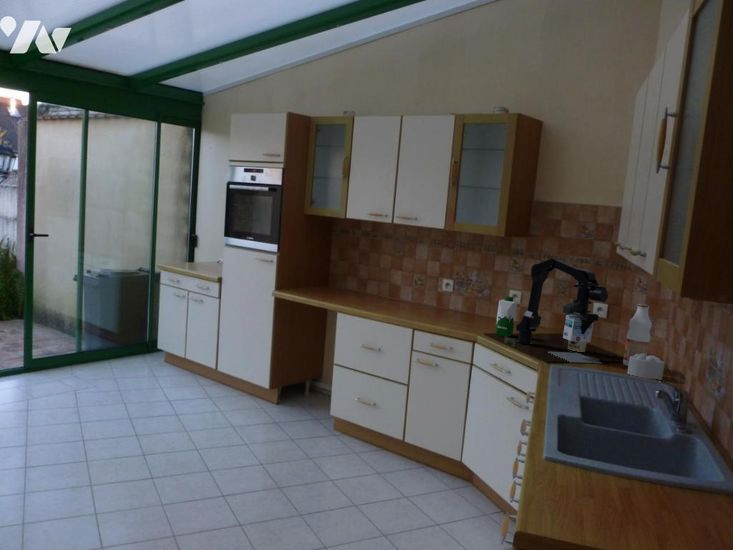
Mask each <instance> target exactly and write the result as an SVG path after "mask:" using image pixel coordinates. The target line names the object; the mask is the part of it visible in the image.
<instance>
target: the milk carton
mask: <svg viewBox="0 0 733 550" xmlns="http://www.w3.org/2000/svg"><path fill="white" fill-rule="evenodd" d="M504 298H505V299H500V300H498V307H497V313H496V320H495V321H496V322H495V335H496V336H501V337H505V336H508V337H507V338H510V337H512V336H511V335H513V333H514V332H513V331H514V327H515V320H516V314H517V303H518V301H514V297H513V296H509V295H508V296H505V297H504ZM509 336H510V337H509Z"/></svg>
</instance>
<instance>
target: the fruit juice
mask: <svg viewBox="0 0 733 550" xmlns="http://www.w3.org/2000/svg"><path fill="white" fill-rule="evenodd" d="M636 308H637V309H636V310H635V311H636V312H635V313H634V315H633V317H631V318H630V319H629V323H628V325H629V326H628V327H629V329H628V331H627V333H626V341H625V346H624V355H623V358H622V359H623V360H622V364H623V365H624V366H627V367H628V366H629V359H630V356H634V355H635V354H642V353H644V354H646V355H647V356H648V354H649V353H648V352H649V346H650V341H651V334H650V332H651V329H652V327H653V326H652V324H653V323H652V321H651V319H650V316H649V315H650V314H649V309H650V305H649V304H645V303H637V305H636Z"/></svg>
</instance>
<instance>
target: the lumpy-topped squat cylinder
mask: <svg viewBox="0 0 733 550" xmlns="http://www.w3.org/2000/svg"><path fill="white" fill-rule="evenodd" d="M664 369H665V361H663V360H661V358H659V357H657V356H655V355H648V354H647V355H646V354H644V353H642V354H635V355H634V356H630V359H629V366H627V373H626V374H628V375H629V374H630V376H632V375H634V376H633V377H636V376H638V377H637V378H641V377H643V378H642V379H647V378H648V380H656V379H658V381H659V380H661V381H662V380H663V375H664Z"/></svg>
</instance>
